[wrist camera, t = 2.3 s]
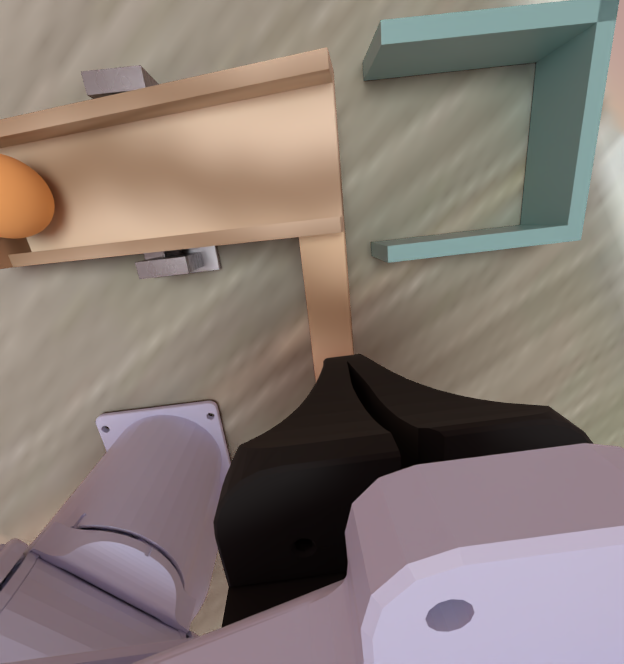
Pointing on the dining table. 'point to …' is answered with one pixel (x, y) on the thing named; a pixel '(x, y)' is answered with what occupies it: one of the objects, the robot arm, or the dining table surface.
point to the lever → (199, 176)
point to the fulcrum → (164, 261)
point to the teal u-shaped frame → (546, 116)
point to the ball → (23, 200)
